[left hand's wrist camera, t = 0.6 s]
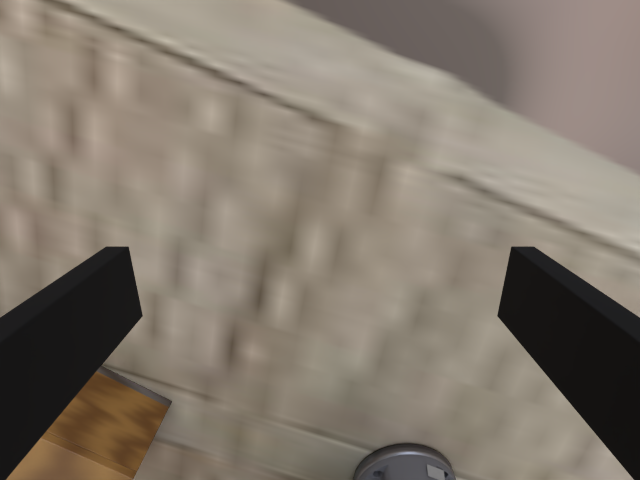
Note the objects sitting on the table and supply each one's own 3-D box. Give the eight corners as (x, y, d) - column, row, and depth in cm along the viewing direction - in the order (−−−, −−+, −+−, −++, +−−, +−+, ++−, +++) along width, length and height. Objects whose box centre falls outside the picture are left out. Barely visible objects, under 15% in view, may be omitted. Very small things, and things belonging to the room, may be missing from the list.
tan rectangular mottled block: (25, 397, 50) (-52, 474, 39) (55, 342, 47) (-21, 411, 36) (137, 448, 53) (93, 532, 43) (171, 401, 50) (133, 479, 40)
